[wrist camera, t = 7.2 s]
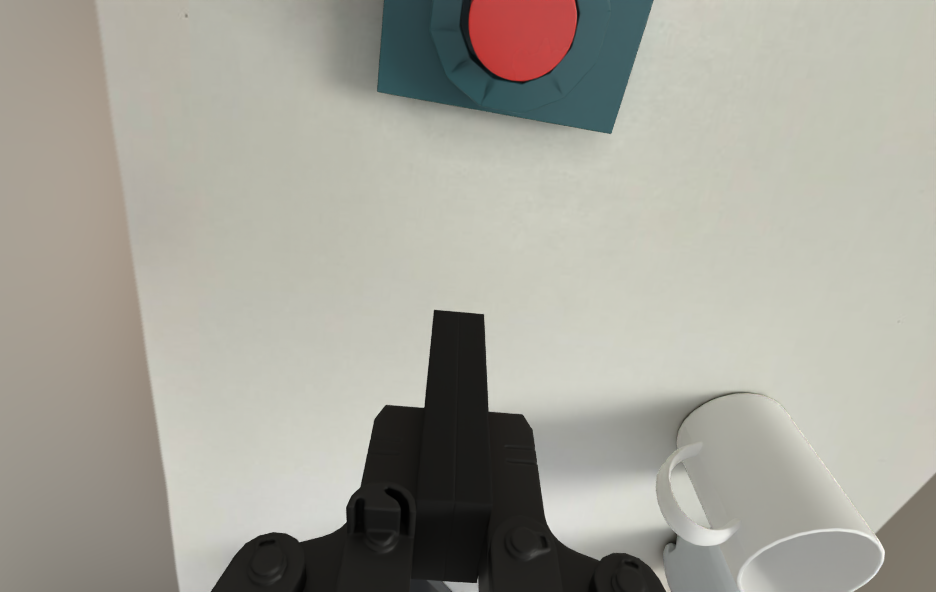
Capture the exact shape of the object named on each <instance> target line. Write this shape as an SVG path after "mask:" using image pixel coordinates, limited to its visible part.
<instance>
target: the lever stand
mask: <svg viewBox="0 0 936 592" xmlns="http://www.w3.org/2000/svg"><path fill="white" fill-rule="evenodd" d="M409 592H452V591H451V590H450V589H449V588H448V587H447V586H446V585H445V584H444V583H443V582H442V581H433V580H416V579H411V580H410V591H409Z"/></svg>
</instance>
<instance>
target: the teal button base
mask: <svg viewBox="0 0 936 592" xmlns="http://www.w3.org/2000/svg"><path fill="white" fill-rule="evenodd" d="M653 1H654V0H575V4H576V10H577V23H576V30H575V35H574V38H573V41H572V43H571V46H570V48H569V50H568V51H567V53H566V55H565V56H564V58H563V59H562V60H561V61H560V62H559V63H558V65H557V66H556V67H554V68H553V69H552V70H551V71H549V72H548V73H546V74H545V75H543V76H540V77H538V78H535V79H532V80H527V81H512V80H507V79H504V78H502V77H499V76H497V75H496V74H494V73H492V72H491V71H490V70H488V69H487V68H486V67H485V66H484V65H483V64H482V62H481V61H480V60H479V58H478V57H477V55H476V53H475V51H474V49H473V46H472V44H471V40H470V35H469V26H468V15H469V8H470V3H471V0H384V8H383V20H382V33H381V46H380V59H379V72H378V85H377V92H381V93H386V94H392V95H397V96H403V97H408V98H414V99H420V100H425V101H431V102H436V103H442V104H447V105H453V106H458V107H464V108H470V109H475V110H481V111H486V112H492V113H497V114H503V115H509V116H514V117H520V118H525V119H531V120H536V121H542V122H547V123H553V124H559V125H564V126H570V127H575V128H581V129H586V130H592V131H597V132H603V133H609V134H611V133H612V130H613V127H614V124H615V120H616V117H617V114H618V111H619V108H620V105H621V101H622V98H623V95H624V92H625V89H626V86H627V83H628V79H629V76H630V73H631V70H632V67H633V64H634V60H635V57H636V54H637V51H638V48H639V45H640V42H641V38H642V35H643V32H644V29H645V26H646V23H647V19H648V16H649V13H650V10H651V7H652V4H653Z"/></svg>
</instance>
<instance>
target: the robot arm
mask: <svg viewBox="0 0 936 592" xmlns="http://www.w3.org/2000/svg"><path fill="white" fill-rule="evenodd" d="M346 515H347V523H345V524H344V525H343V526H342V527H341V528H340V529H338V530H336V531H335V532H333V533H331V534H328V535H326V536H323V537H319V538H315V539H311V540H307V541H303V542H298V540H297V539H295V538H294V537H292V536H290V535H288V534H285V533H276V532H272V533H268V534H264V535H260V536H258V537H256V538H254V539H253V540H251V541H249V542H247V543H246V544H245V545H244V546H243V547H242V548H241V549H240V550H239V551H238V552H237V554H236V555H235V556H234V558H233V559H232V561H231V562H230V564H229V565H228V567H227V568H226V570H225V571H224V573H223V574H222V576H221V577H220V579H219V580H218V582H217V583H216V585H215V586H214V588H213V589H212V591H211V592H409V591H410V580H411V579H416V580H433V581H450V582H467V583H477V579H478V582H479V592H666V591H665V589H664V587H663V585H662V583H661V582H660V580H659V578H658V577H657V576H656V574H655V573H654V572H653V570H652V569H651V568H650V567H649V566H648V565H647V564H645V563H644V562H643V561H641V560H640V559H639V558H636V557H634V556H631V555H629V554H626V553H612V554H610V555H607V556H605V557H603V558H602V559H601V561H599V560H596V559H593V558H591V557H588V556H586V555H583V554H581V553H578V552H576V551H574V550H572V549H570V548H568V547H566V546H565V545H564V544H562V543H561V542H560V541H558V539H557V538H556V537H555V536H554V535H553V534H552V532H551V531H550V529H549V527H548V525H547V523H546V519H545V515H544V508H543V501H542V494H541V487H540V480H539V473H538V465H537V458H536V451H535V444H534V437H533V430H532V428H531V427H530V425H529V424H528V422H527V421H526V419H525V418H524V416H523V414H510V413H497V412H489V411H488V390H487V368H486V347H485V325H484V314H475V313H464V312H452V311H441V310H434V316H433V326H432V336H431V346H430V356H429V366H428V376H427V387H426V397H425V407H424V408H418V407H405V406H392V405H385V407H384V408H383V409H382V410H381V412H380V413H379V414H378V415H377V417H376V418H375V419H374V424H373V429H372V434H371V440H370V444H369V448H368V454H367V458H366V463H365V468H364V473H363V477H362V482H361V487H360V488H359V489H358V490H357V491H356V492H355V493H354V494H353V495H352V496H351V498H350V500H349V502H348V504H347V507H346Z"/></svg>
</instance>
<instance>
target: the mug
mask: <svg viewBox="0 0 936 592" xmlns="http://www.w3.org/2000/svg"><path fill="white" fill-rule="evenodd" d="M677 448H678V450H676V451H675V452H673V453H672V454H671V455H670V456H669V457H668V458H667V460H666V461H665V462H664V463H663V465H662V466H661V468H660V470H659V472H658V474H657V481H656V493H657V500H658V504H659V507H660V510H661V513H662V514H663V516H664V518H665V520H666V522H667V523H668V525H669V526H670V527H671V528H672V529H673V530H674V532H675V533H676V534H678V535H679V536H680V537H681V538H683V539H684V540H686V541H688V542H690V543H692V544H695V545H700V546H713V545H717V544H719V546H720V549H721V551H722V553H723V556H724V558H725V560H726V563H727V565H728V567H729V569H730V572H731V574H732V576H733V579H734V581H735V583H736V586H737V588H738V589H739V591H740V592H853V591H855V590H856V589H858V588H860V587H861V586H863V585H864V584H866V583H867V582H868V581H869V580H870V579H871V578H872V577H874V576H875V575H876V574H877V572H878V570H879V569H880V567H881V566H882V564H883V562H884V554H885V551H884V549H883V547H882V545H881V543H880V541H879V540H878V538H877V537H876V536H875V534H874V533H873V531H872V530H871V529H870V527H869V526H868V524H867V523H866V522H865V520H864V519H863V517H862V516H861V515H860V513H859V512H858V510H857V509H856V508H855V506H854V505H853V503H852V502H851V501H850V499H849V498H848V496H847V495H846V494H845V492H844V491H843V490H842V488H841V487H840V485H839V484H838V483H837V481H836V480H835V478H834V477H833V476H832V474H831V473H830V471H829V470H828V469H827V467H826V466H825V464H824V463H823V462H822V460H821V459H820V457H819V456H818V455H817V453H816V452H815V450H814V449H813V448H812V446H811V445H810V443H809V442H808V441H807V439H806V438H805V436H804V435H803V434H802V432H801V431H800V429H799V428H798V427H797V425H796V424H795V423H794V421H793V420H792V418H791V417H790V416H789V414H788V413H787V411H786V410H785V409H784V407H782V406H781V405H780V404H779V403H778V402H776V401H775V400H773V399H771V398H768V397H766V396H763V395H759V394H752V393H739V394H731V395H727V396H723V397H719V398H716V399H714V400H712V401H709V402H707V403H705V404H703V405H702V406H700V407H699V408H697V409H696V410H694V411H693V412H692V413H691V414H690V415H689V416H688V417H687V418H686V419H685V420H684V422H683V423H682V425H681V427H680V429H679V431H678V437H677ZM681 461H683V464H684V466H685V468H686V471H687V473H688V475H689V478H690V480H691V482H692V484H693V487H694V489H695V491H696V494H697V496H698V498H699V501H700V503H701V505H702V507H703V510H704V512H705V514H706V517H707V519H708V521H709V524H710V526H711V528H712V529H710V528H705V527H702V526H700V525H698V524H696V523H695V522H693V521H692V520H691V519H690V518H688V517H687V516H686V514H685V513H684V512H683V511H682V510H681V508H680V507H679V505H678V503H677V501H676V499H675V497H674V494H673V491H672V487H671V482H670V479H671V472H672V469H673V468H674V467H675V466H676V465H677V464H678V463H680V462H681Z"/></svg>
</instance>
